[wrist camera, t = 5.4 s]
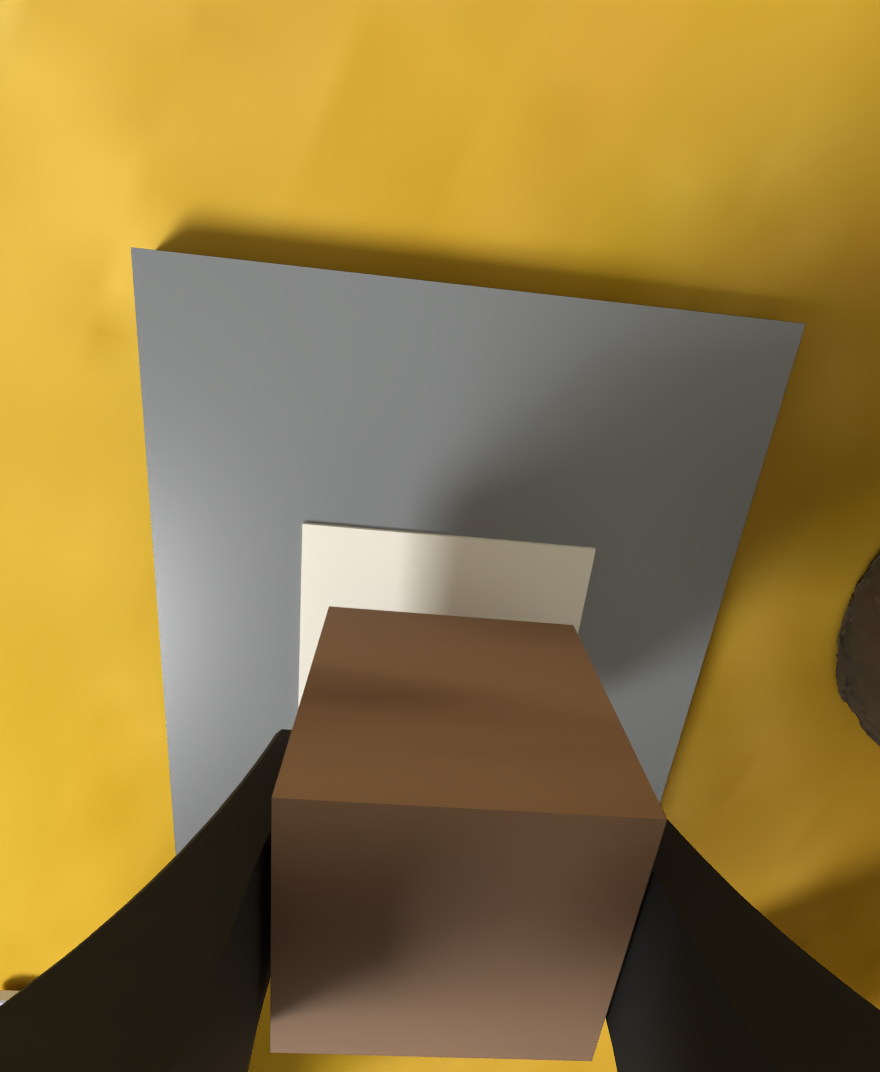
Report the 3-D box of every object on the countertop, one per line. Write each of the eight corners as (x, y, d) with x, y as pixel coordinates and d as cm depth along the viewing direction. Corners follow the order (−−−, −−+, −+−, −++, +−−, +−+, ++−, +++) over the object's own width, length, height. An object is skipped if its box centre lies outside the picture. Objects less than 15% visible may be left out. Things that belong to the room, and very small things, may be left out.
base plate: (616, 888, 20) (626, 919, 19) (190, 866, 19) (177, 899, 18) (779, 322, 14) (808, 323, 13) (151, 251, 13) (128, 246, 12)
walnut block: (534, 811, 14) (591, 1061, 9) (320, 799, 14) (270, 1052, 9) (573, 625, 12) (667, 819, 8) (329, 606, 12) (271, 797, 7)
